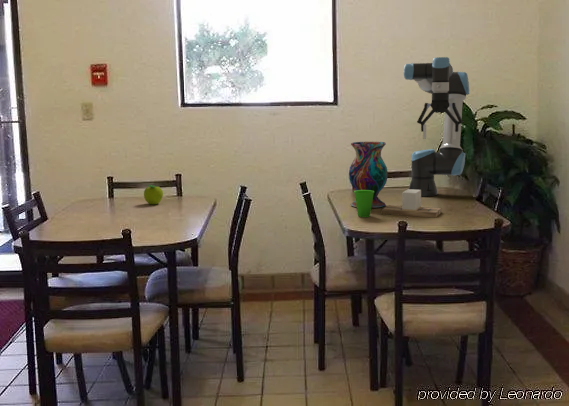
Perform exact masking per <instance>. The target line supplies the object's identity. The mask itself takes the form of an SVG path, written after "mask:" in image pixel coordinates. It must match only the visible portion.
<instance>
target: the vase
mask: <svg viewBox="0 0 569 406" xmlns="http://www.w3.org/2000/svg"><path fill="white" fill-rule="evenodd" d="M350 146H351V147H352V148H353V149H354V151H355V156H354V159H353V161H352V162H351V164H350V166H349V170H348V178H349V179H348V180H349V183H350V185H351V186H352V188H353V189H354V191H356V190H372V191H374V194H373V200H372V206H371V209H374V208H375V209H376V208H381V207H386V205H387V204H386V203H385V202H384V201H382V200H381V199H380V198H379V197H378V195H379V194H380V192H381V191H382V190H383V189H384V187H385V186H386V185H387V181H388V178H389V177H388V175H389V172H388V167H387V164H386V163H385V161H384V159H383V157H382V150H383V149H384V147H385V146H386V142H384V141H355V142H351V143H350ZM350 206H352V207H354V208H357V205H356V200H354V201H353V202H351V203H350Z"/></svg>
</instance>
